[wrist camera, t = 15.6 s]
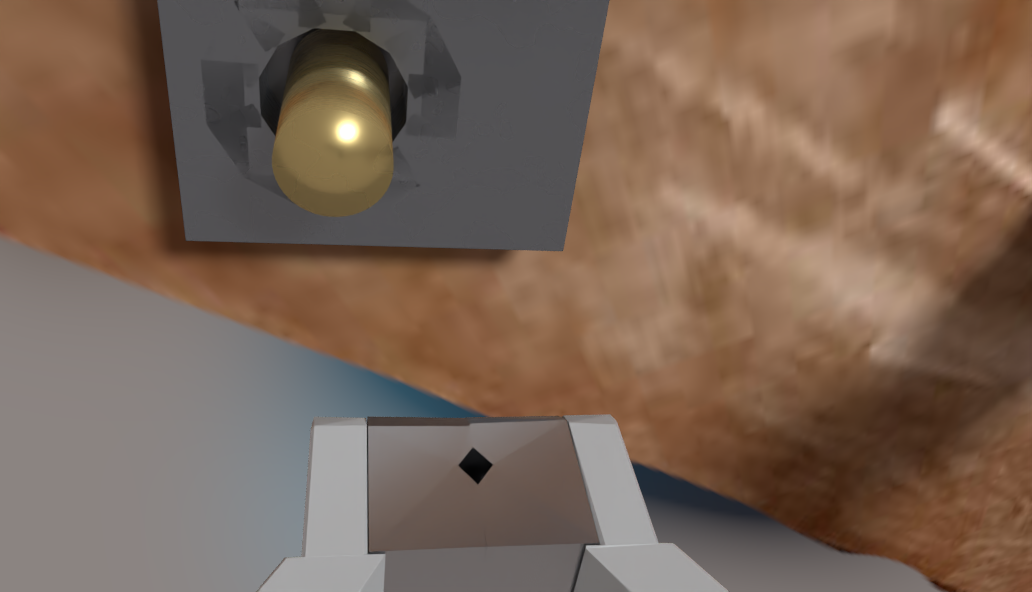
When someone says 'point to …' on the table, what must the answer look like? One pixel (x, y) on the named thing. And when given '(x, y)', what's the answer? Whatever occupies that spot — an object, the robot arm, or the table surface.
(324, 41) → the peg
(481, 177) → the jig
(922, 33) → the table surface
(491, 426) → the robot arm
